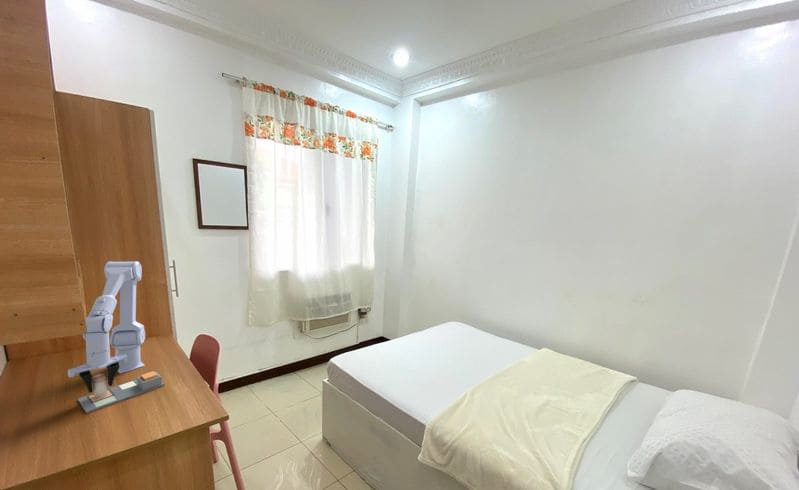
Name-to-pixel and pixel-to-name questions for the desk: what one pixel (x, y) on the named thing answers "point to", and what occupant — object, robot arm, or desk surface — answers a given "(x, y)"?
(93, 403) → the grey sorting board
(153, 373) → the button
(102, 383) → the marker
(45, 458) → the desk surface
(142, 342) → the robot arm
